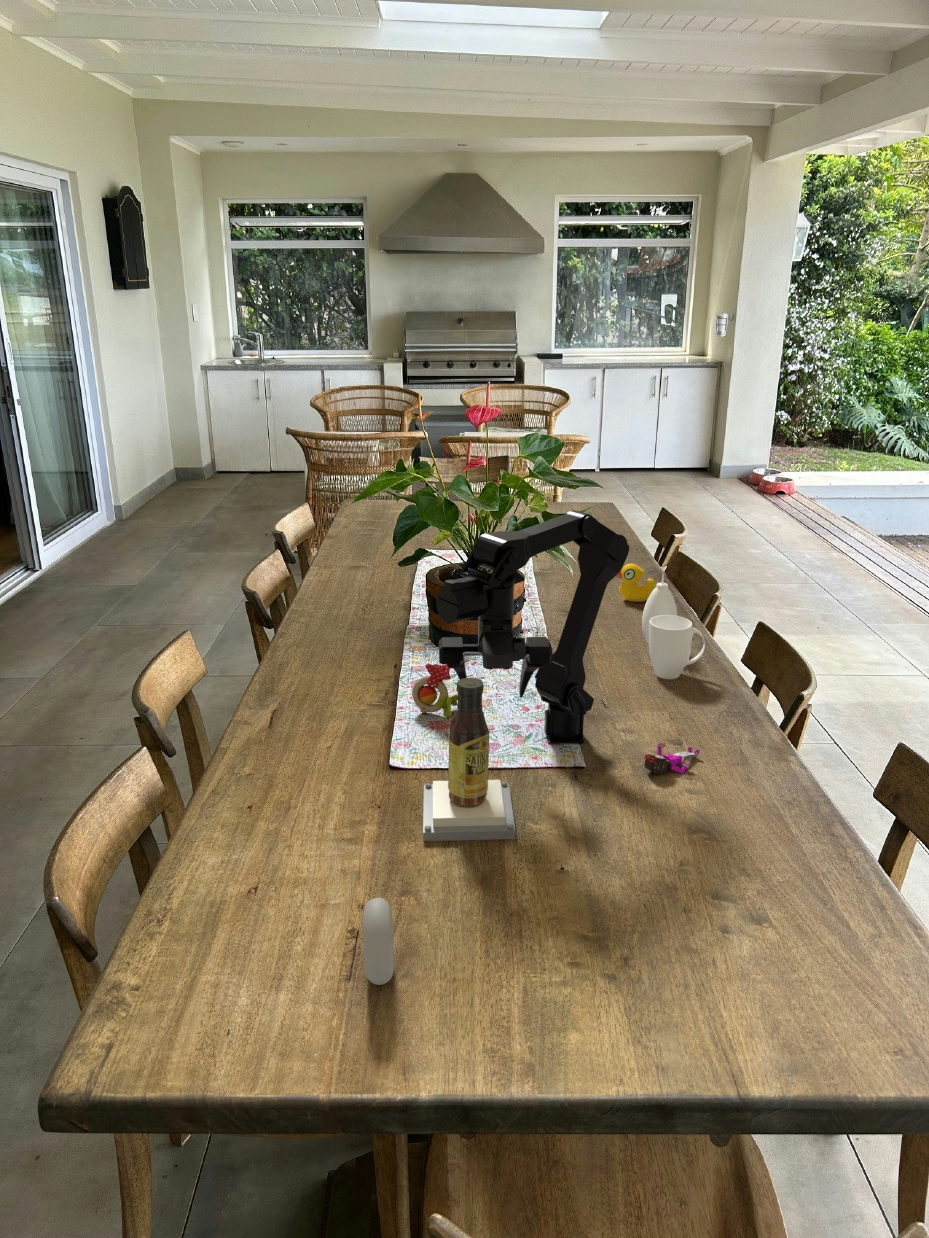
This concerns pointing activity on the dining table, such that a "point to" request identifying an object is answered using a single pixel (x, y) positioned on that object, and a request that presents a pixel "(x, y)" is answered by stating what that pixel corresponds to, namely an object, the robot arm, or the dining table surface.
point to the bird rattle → (434, 691)
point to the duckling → (635, 584)
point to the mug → (671, 645)
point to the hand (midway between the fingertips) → (493, 696)
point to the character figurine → (668, 760)
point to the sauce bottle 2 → (658, 605)
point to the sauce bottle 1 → (468, 746)
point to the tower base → (468, 830)
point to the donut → (378, 941)
